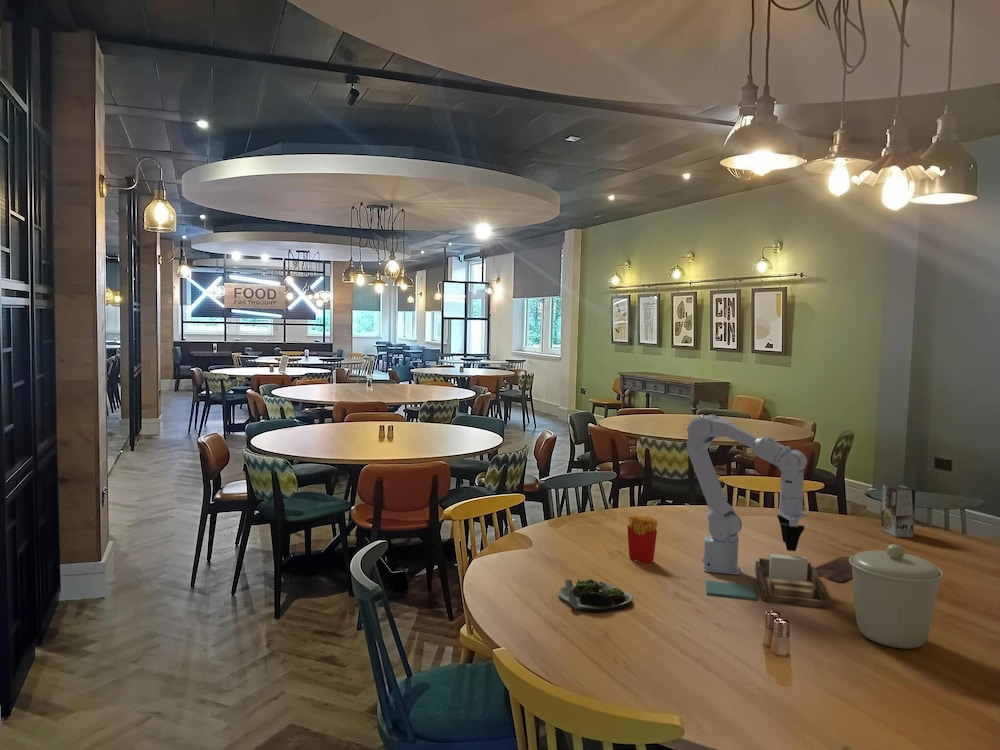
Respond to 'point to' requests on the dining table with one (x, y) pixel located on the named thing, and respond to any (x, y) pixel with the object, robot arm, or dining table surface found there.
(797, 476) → the robot arm
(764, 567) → the rack
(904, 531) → the coffee box
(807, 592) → the offcut block small
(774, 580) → the offcut block large
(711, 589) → the mat
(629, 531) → the french fries
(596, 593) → the salad plate
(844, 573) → the wooden tablet
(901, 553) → the canister
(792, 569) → the grey sheet
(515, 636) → the dining table surface
